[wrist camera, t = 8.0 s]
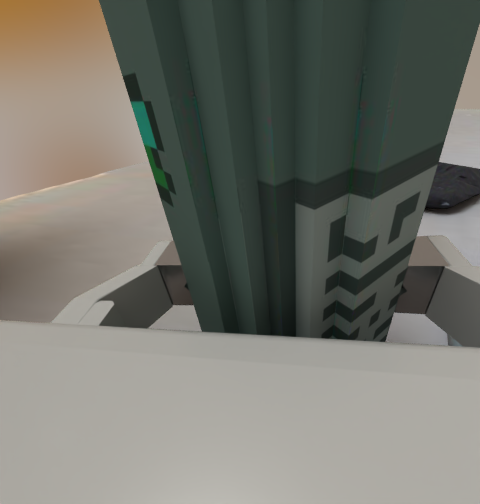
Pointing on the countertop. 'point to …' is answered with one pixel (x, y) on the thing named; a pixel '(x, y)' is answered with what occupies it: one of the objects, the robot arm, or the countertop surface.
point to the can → (293, 148)
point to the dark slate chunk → (453, 185)
